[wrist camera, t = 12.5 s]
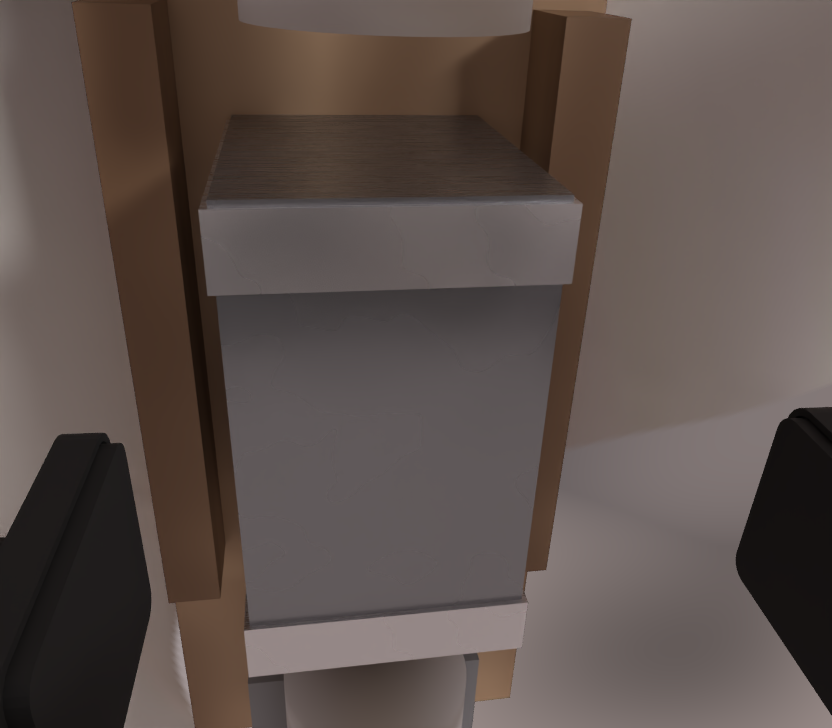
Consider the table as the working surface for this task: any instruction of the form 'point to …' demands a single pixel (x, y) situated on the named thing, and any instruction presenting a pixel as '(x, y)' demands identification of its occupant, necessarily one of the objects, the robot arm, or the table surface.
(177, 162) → the coupling rig
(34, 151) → the table surface
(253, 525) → the block
